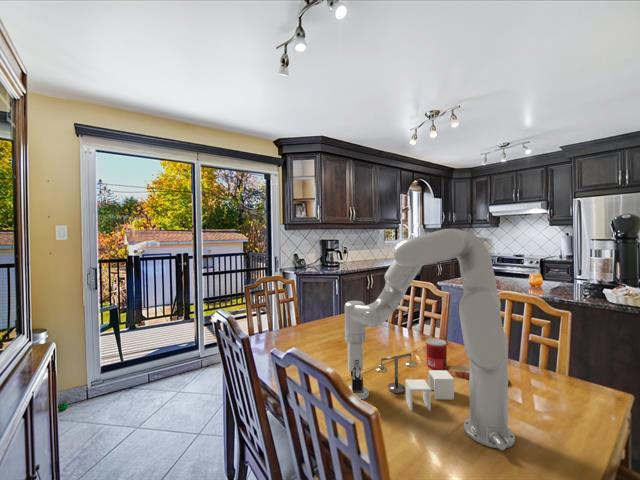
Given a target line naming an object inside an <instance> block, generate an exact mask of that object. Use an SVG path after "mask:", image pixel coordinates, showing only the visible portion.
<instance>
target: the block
mask: <svg viewBox="0 0 640 480" xmlns="http://www.w3.org/2000/svg"><path fill="white" fill-rule="evenodd" d="M350 378H351V382H352V378H353V376H351V375H350ZM361 378H362V390H361V391H359V390H353V389H352V391H353V393H364V388H363V386H364V379H363V376H361Z"/></svg>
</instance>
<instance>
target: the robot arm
mask: <svg viewBox="0 0 640 480" xmlns="http://www.w3.org/2000/svg"><path fill="white" fill-rule="evenodd" d="M393 257H394V259H393V260H392V262H391V264H390V265H389V267H388V269H387V270H386V272H385V273H384V275H383V276H384V280H385V284H384V287H383V289H382V291H381V293H380V294H379V295H378V297H377V299H376V300H375V301H373V302H371V303H369V304H366V303H365V302H363V301H360V300H348V301H346V302H345V304H344V340H345V342H347V368H348V371H349V372H350V377H351V376H353V378H352V381H351V385H352V389H353V390H359V391H361V390H362V378H361V377H362V371H363V367H364V364H363V363H364V343H365V342H366V341H367V328H370V329H371V328H373V329H374V328H378V327H379V326H381V325H382V324H383V323H385V322H386V321H388V320H389V319H390V318H391V317H392V316H393V314H394V312H395V311H396V310H397V308H398V307H399V305H400V303H401V302H402V299H403V298H404V296H405V294H406V293H407V290H408V288H409V287H410V286H411V284H412V282H413V281H414V279H416V276H417V275H418V273H419V272H420V270H421V269H422V267H423V266H426V265H431V264H435V263H438V262H440V263H441V262H445V261H448V260H452V259H457V261H458V264H459V273H460V278H461V282H462V292H463V294H462V296H461V298H460V300H459V305H458V314H459V321H460V325H461V332H462V339H463V345H464V351H465V353H466V355H467V358H468V360H469V366H470V376H469V380H468V381H469V383H468V384H469V417H468V418H466V419H465V420H464V421H463V429H464V432H465V433H466V434H467V435H468V437H470V438H471V439H472V440H473V441H475V442H476V443H478V444H480V445H483V446H486V447H488V448H492V449H493V448H494V449H499V450H500V451H505V450H506V449H509V448H511V447H512V446H514V444H515V442H516V437H515V433H514V432H513V430H511V428H509V398H508V397H509V387H508V386H509V384H508V381H509V340H508V336H507V333H506V332H505V330H504V327H503V320H502V316H501V306H502V304H501V299H500V296H499V292H498V287H497V282H496V275H495V272H494V266H493V261H492V258H491V254H490V252H489V249H488V248H487V246H486V245H485V243H484V242H483V240H481V239H480V238H479V237H478V236H476V235H474V234H473V233H471V232H468V231H466V230H461V229H460V228H459V229H457V228H444V229H443V228H442V229H439V230H436V231H432V232H428V233H425V234H421V235H419V236H414V237H411V238H405V239H402V240H401V241H399V242H398V243H397V244H396V245H395V247H394V250H393Z"/></svg>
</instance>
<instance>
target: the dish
mask: <svg viewBox="0 0 640 480" xmlns="http://www.w3.org/2000/svg"><path fill="white" fill-rule="evenodd" d="M348 386H349V388H350V389H351V390H352V384H351V385H348ZM363 388H364V393H354V394H355V395H357V396H358V397H359V398H360V399H362V400H361V401H363V400H366V399H367V398H369V396H370V391H369V389H368V388H367V387H365V386H364V385H363Z"/></svg>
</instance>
